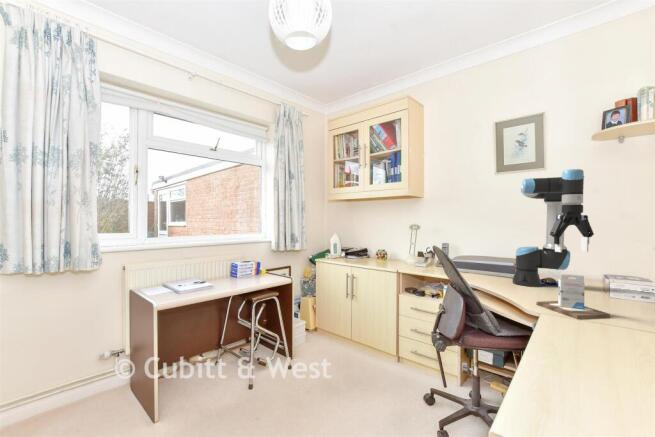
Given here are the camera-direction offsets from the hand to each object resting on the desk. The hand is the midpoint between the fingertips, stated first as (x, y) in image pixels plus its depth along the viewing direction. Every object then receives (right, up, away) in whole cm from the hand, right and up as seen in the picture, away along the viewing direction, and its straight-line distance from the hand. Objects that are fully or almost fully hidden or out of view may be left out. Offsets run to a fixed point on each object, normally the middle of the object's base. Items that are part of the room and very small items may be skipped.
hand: (571, 251), depth 135 cm
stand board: (0, -27, 0) cm, 27 cm away
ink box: (0, -25, 0) cm, 25 cm away
